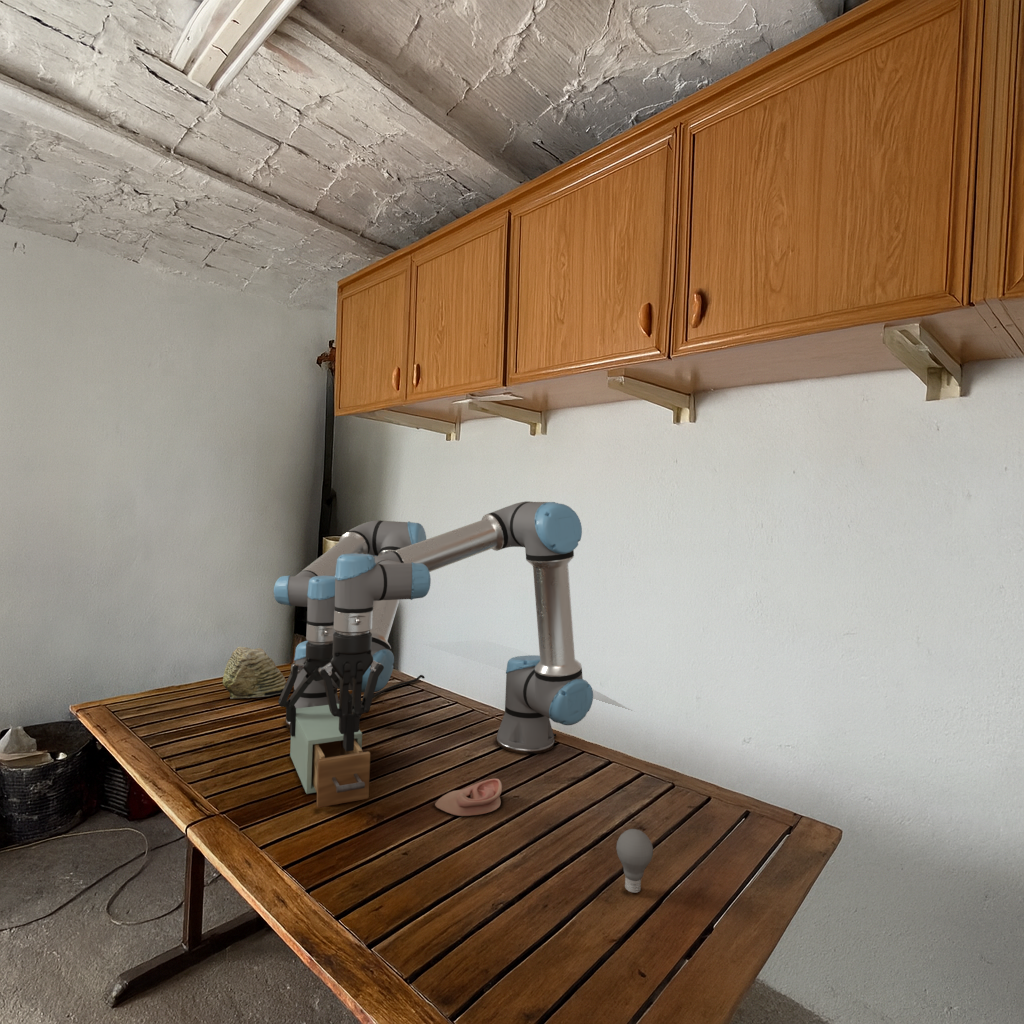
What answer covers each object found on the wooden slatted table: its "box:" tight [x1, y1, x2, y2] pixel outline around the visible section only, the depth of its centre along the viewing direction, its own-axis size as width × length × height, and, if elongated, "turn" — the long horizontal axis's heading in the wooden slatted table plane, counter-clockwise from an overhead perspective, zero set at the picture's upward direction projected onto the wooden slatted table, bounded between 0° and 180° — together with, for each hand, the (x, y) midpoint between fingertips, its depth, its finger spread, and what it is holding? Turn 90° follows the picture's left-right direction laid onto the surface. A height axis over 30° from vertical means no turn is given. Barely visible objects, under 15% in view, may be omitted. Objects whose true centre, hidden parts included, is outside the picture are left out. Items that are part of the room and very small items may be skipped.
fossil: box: [222, 646, 287, 699], centre depth 198 cm, size 9×18×15 cm, turn 132°
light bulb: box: [615, 828, 654, 894], centre depth 106 cm, size 6×6×10 cm
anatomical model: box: [434, 778, 503, 817], centre depth 133 cm, size 13×4×12 cm
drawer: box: [311, 739, 371, 808], centre depth 136 cm, size 26×10×10 cm, turn 28°
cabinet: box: [289, 704, 363, 795], centre depth 147 cm, size 22×12×12 cm, turn 28°
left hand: (319, 731), depth 152 cm, fingers closed on cabinet, 12 cm apart
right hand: (348, 748), depth 127 cm, fingers closed
